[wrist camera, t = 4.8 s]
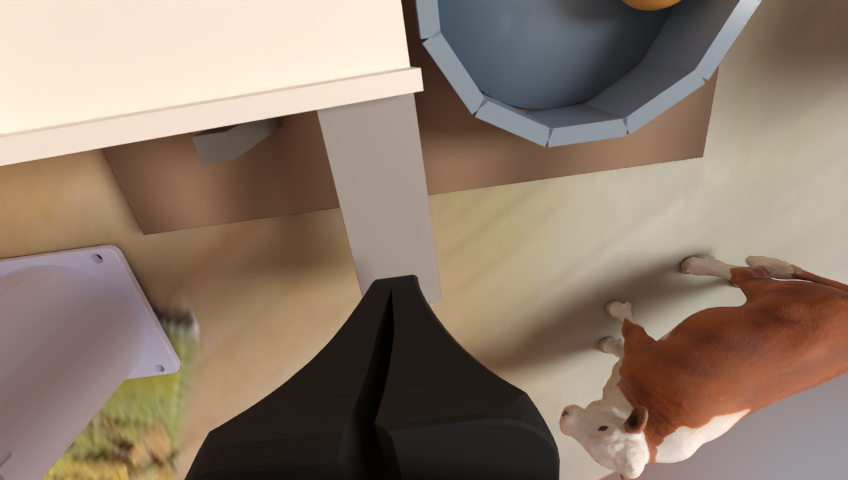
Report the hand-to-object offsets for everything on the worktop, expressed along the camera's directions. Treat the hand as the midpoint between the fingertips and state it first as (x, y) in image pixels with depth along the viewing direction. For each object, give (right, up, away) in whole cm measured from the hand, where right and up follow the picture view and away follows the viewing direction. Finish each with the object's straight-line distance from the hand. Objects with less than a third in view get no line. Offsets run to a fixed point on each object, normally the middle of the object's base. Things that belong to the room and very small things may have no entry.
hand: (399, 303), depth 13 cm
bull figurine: (+13, -2, +10) cm, 16 cm away
